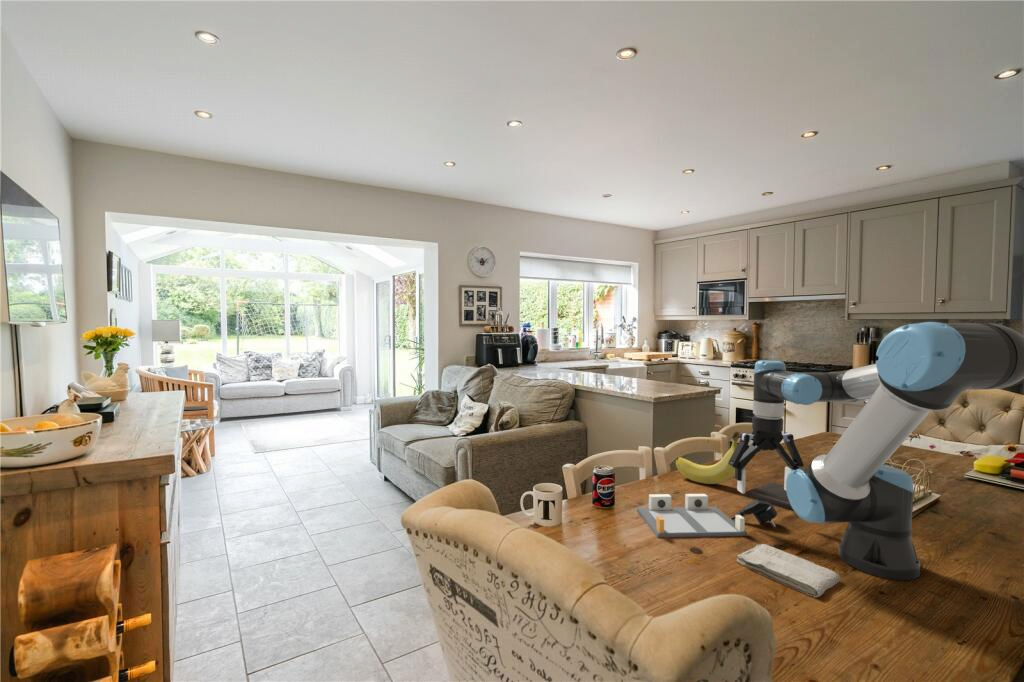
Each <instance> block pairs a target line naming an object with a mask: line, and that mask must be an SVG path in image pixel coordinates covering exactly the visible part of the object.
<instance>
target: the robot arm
mask: <svg viewBox="0 0 1024 682" xmlns="http://www.w3.org/2000/svg"><path fill="white" fill-rule="evenodd" d="M875 354H876V355H875V356H876V357H878V360H875V363H874V364H869V365H865V366H859V367H855V368H851V369H847V370H843V371H835V372H834V371H833V372H831V371H829V372H821V371H820V372H806V371H805V372H803V371H802V372H796V371H795V372H794V371H789V370H787V369H786V363H785V362H783V361H782V360H781V361H780V360H767V359H764V360H762V359H760V360H757V361H756V362H755V364H754V373H753V392H752V393H753V401H752V414H753V416H752V425H751V427H752V432H751V434H750V433H746V432H740V436H739V441H738V442H737V447H736V449H735V451H734V452H733V454H732V456H731V458H730V460H729V462H728V464H729V465H731V466H732V467H734V468H735V475H734V479H735V480H737V483H736V484H737V485H736V490H737V491H738V492H740V493H741V494H744V495H745V494H746V476H747V470H746V469H745V467H746V466H747V465H748V464H749V463H750V462H751V460H752V459H753V458H754V457H755V455H757V453H759V452H761V451H769V450H770V451H776V452H777V454H778V455H779V457H781V459H782V460H783V461H784V462H785V464H786V465H787V466H785V467H784V479H783V481H784V483H783V485H784V490H786V491H787V496H788V499H789V502H790V504H791V506H792V508H793V510H794V511H795V512H794V511H793V512H794V513H795V514H796V515H797V516H798V517H799V518H800V519H801V520H803V521H805V522H806V523H815V524H817V523H818V524H829V523H830V524H832V523H833V524H834V523H848V524H847V527H846V529H845V531H844V534H843V536H842V539H841V540H840V541H839V543H838V557H839V558H840V559H841V560H842V561H843V562H845V563H846V564H847V565H849V566H851V567H853V568H855V569H857V570H858V571H861V572H864V573H867V574H869V575H872V576H873V575H874V576H876V577H881V578H885V579H888V580H889V579H891V580H897V581H898V580H899V581H910V580H915V579H918V577H920V575H921V564H920V563H921V562H920V560H919V558H918V556H917V555H918V553H917V552H916V548H915V545H914V542H913V539H912V527H913V526H912V524H913V510H914V508H913V507H914V494H915V491H914V480H913V476H912V475H911V474H909V472H907V471H905V470H903V469H899V468H897V467H893V466H891V465H887V464H885V463H886V462H887V461H888V460H889V459H890V457H891V456H893V454H894V453H895V452H896V451H897V450H898V449H899V448H900V447H901V445H902V444H903V443H904V442H906V440H907V439H908V437H909V436H910V435H911V434H912V433H913V432H914V430H916V429H917V428H918V426H919V425H920V424H921V423H922V421H924V420H925V419H926V418H927V416H928V415H929V414H931V412H940V411H941V412H942V411H944V410H947V409H948V408H950V406H951V405H952V404H954V403H955V401H956V400H957V399H958V398H959V397H960V396H961V395H962V394H963V393H964V392H965V391H968V390H970V391H976V390H977V391H978V390H996V389H997V390H998V389H1002V388H1007V387H1010V386H1013V385H1015V384H1017V383H1019V382H1021V381H1022V380H1024V335H1023V334H1021V333H1020V332H1018V331H1017V330H1015V329H1013V328H1010V327H1008V326H1006V325H1001V324H997V323H985V322H984V323H983V322H982V323H974V322H973V323H969V322H968V323H943V322H937V321H925V322H919V323H908V324H904V325H901V326H899V327H897V328H894V329H893V330H891V331H890V332H889V333H887V335H885V337H884V338H882V340H881V342H880V344H879V345H878V347H877V350H876V353H875ZM866 399H868V400H867V401H866V403H865V404H864V405H863V407H862V408H861V409H860V411H859V412H858V413H857V415H856V416H855V417H854V419H853V420H852V421H851V423H850V424H849V425H848V426H847V429H845V431H843V433H842V435H841V436H840V437H839V439H838V440H837V441H836V442H835V444H834V446H833V447H832V448H831V449H830V450H829V452H828V453H827V454H826V453H824V454H819V455H818V456H817V455H816V457H814V459H812V461H811V462H810V463H809V465H808V466H807V468H805V469H801V468H803V467H804V466H805V464H804V462H803V460H802V457H801V455H800V452H799V450H798V449H797V447H796V444H795V440H794V439H795V438H794V437H795V436H794V434H792V433H789V432H786V431H785V432H784V433H783V431H784V419H783V417H784V415H785V413H784V411H785V401H787V402H790V403H792V404H795V405H804V406H809V405H810V406H811V405H812V404H815V403H825V402H827V403H828V402H829V403H830V402H831V403H832V402H835V403H836V402H839V403H840V402H841V403H842V402H843V403H855V402H862V401H865V400H866ZM782 441H784V444H785V445H786V448H787V450H788V452H789V454H788V452H787V451H786V450H785V448H784V447H783V446H782V444H781V443H782Z"/></svg>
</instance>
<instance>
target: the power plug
mask: <svg viewBox="0 0 1024 682" xmlns="http://www.w3.org/2000/svg"><path fill="white" fill-rule="evenodd" d="M735 515H741V516H742V517H743V518H744V517H746V516H747V515H753V516H754V518H755V519H756V521H757V522H758V523H760V524H766V523H767V522H769V523H770V525H771V526H772V527H773V528H776V524H775V522H773V519H775V518H776V517H777V515H778V512H777V509H776V508H775V507H774V505H772V504H771V503H769V502H766V501H760V500H756V499H754V500H753V501H751V502H749V503H747V504H746V505H745V506H743V508H741V509H740V510H738V511H737V512H736V513H735ZM735 515H734V516H731V517H729V518H730V519H732V520H733V521H734V520H735Z"/></svg>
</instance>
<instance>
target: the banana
mask: <svg viewBox="0 0 1024 682" xmlns="http://www.w3.org/2000/svg"><path fill="white" fill-rule="evenodd" d="M730 437H731V439H732V443H731V445H730V446H731V447H730V448H729V449H728V450H727V452H726V453H725V454H724V456H723V457H722V458H721V460H719V461H717V462H716V463H715V464H712V465H705V464H704V465H701V464H698V463H696V462H693V461H691V460H688V459H686V458H683V457H680V456H678V457H676V458H675V460H674V461H675V466H676V468H677V470H678V472H679V473H680V474H681V475H682V476H684V477H685V478H687V479H688V480H690V481H692V482H696V483H700V484H704V485H717V484H721V483H724V482H726V481H727V480H730V479H731V478H733V477H735V468H734V467H732V466H731V465H729V464H728V462H729V460H730V458H731V456H732V454H733V452H734V451H735V449H736V447H737V445H738V442H739V441H738V440H740V437H741V432H740V431H737V430H736V431H734V432H733V434H731V436H730Z"/></svg>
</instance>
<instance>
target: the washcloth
mask: <svg viewBox="0 0 1024 682" xmlns="http://www.w3.org/2000/svg"><path fill="white" fill-rule="evenodd" d="M736 562H737V563H738V564H739V565H742V566H743V567H745V568H748V569H749V570H751V571H753V572H755V573H756V574H759V575H761V576H764V577H766V578H768V579H770V580H773V581H776V583H779V584H782V585H784V586H786V587H789V588H791V589H793V590H795V589H796V591H798V592H800V593H802V594H804V593H805V595H807V596H809V595H810V596H809V597H811V596H813V597H812V598H819V597H820V596H822V595H823V594H825V592H826V591H827V590H828V589H831V588H833V587H834V586H836V584H838V583H839V582H840V580H841V577H840V575H839V573H837V572H835V571H833V570H832V569H829V568H827V567H823V566H822V565H818V564H816V563H814V562H812V561H811V560H810V561H809V560H806V559H805V558H802V557H800V556H797V555H794V554H792V553H789V552H786V551H784V550H781V549H778V548H776V547H774V546H770V545H769V544H766V543H761V544H756V545H755V546H754V547H753V548H750V549H748V550H746V551H743V552H742V553H741V552H740V554H737V559H736Z"/></svg>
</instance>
